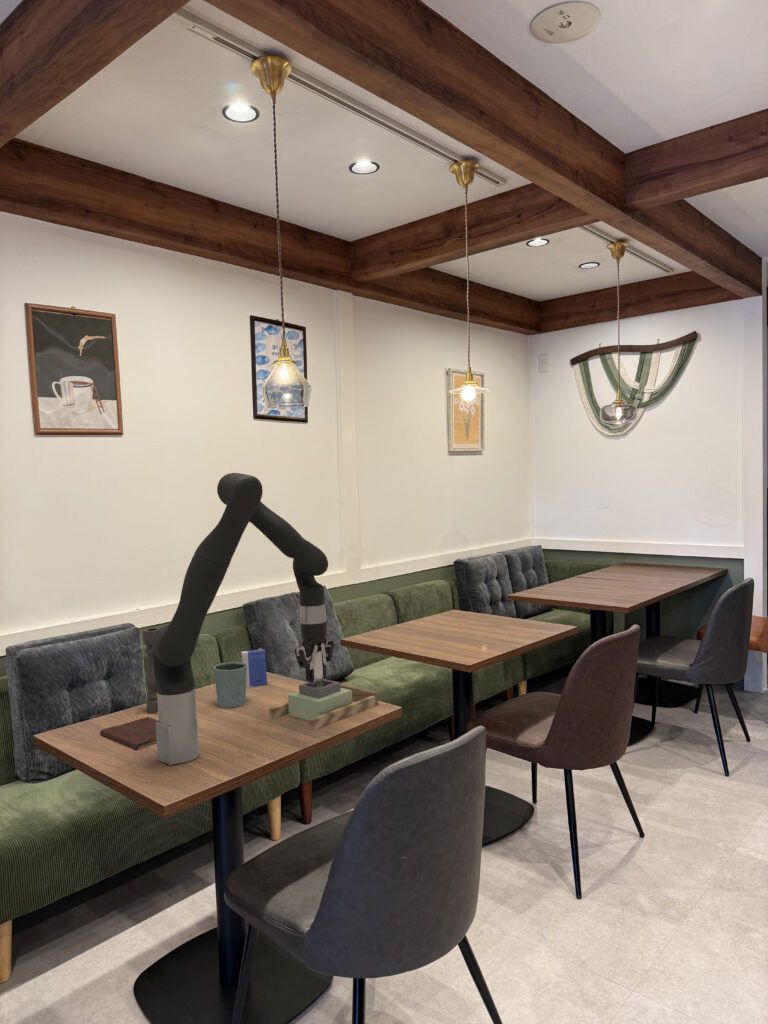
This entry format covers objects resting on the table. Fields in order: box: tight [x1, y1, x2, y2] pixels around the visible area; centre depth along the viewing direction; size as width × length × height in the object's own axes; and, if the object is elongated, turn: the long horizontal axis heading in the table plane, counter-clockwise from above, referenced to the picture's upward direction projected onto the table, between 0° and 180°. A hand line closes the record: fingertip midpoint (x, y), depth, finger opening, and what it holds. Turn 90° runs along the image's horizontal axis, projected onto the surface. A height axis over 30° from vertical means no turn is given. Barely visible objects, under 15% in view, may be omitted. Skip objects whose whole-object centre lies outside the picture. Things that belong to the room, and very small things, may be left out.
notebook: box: [99, 716, 159, 751], centre depth 203 cm, size 15×20×2 cm
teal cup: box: [213, 661, 247, 709], centre depth 226 cm, size 10×10×12 cm
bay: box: [268, 683, 379, 732], centre depth 211 cm, size 26×18×5 cm
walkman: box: [241, 648, 268, 688], centre depth 246 cm, size 8×3×12 cm, turn 105°
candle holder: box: [142, 627, 162, 714], centre depth 223 cm, size 6×6×25 cm
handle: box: [308, 651, 324, 688], centre depth 208 cm, size 4×4×12 cm
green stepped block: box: [287, 678, 354, 722], centre depth 210 cm, size 13×13×8 cm
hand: (316, 679), depth 209 cm, fingers closed on handle, 4 cm apart
